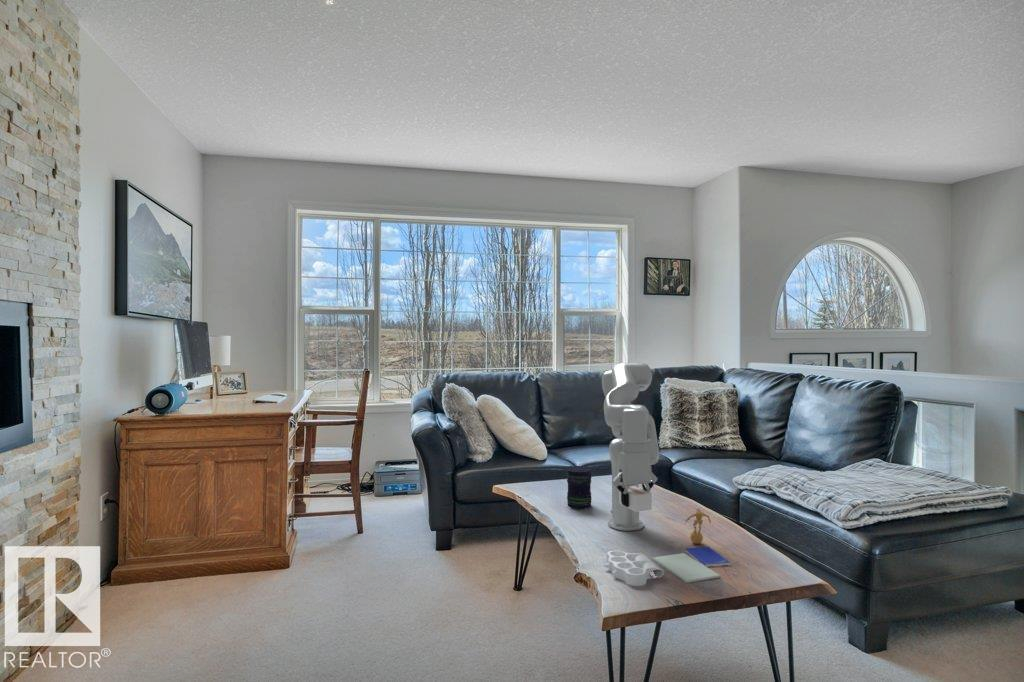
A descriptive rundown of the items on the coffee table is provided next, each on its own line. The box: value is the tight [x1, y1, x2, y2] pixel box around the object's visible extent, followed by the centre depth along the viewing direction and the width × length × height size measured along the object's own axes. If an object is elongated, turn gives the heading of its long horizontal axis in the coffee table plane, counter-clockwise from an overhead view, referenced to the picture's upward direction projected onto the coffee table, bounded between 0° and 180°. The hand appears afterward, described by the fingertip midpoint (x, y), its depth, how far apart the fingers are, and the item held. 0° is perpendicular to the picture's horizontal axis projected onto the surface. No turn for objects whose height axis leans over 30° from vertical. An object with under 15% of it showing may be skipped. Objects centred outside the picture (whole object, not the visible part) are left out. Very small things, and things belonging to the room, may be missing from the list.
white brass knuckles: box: [603, 550, 665, 587], centre depth 157 cm, size 3×18×15 cm
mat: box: [652, 552, 721, 584], centre depth 159 cm, size 17×11×1 cm, turn 17°
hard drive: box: [685, 546, 732, 568], centre depth 167 cm, size 2×8×12 cm
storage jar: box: [566, 465, 592, 510], centre depth 221 cm, size 10×10×15 cm
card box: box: [619, 486, 653, 512], centre depth 171 cm, size 9×6×5 cm, turn 21°
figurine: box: [685, 508, 712, 545], centre depth 178 cm, size 8×6×12 cm
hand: (635, 504), depth 171 cm, fingers closed on card box, 6 cm apart
